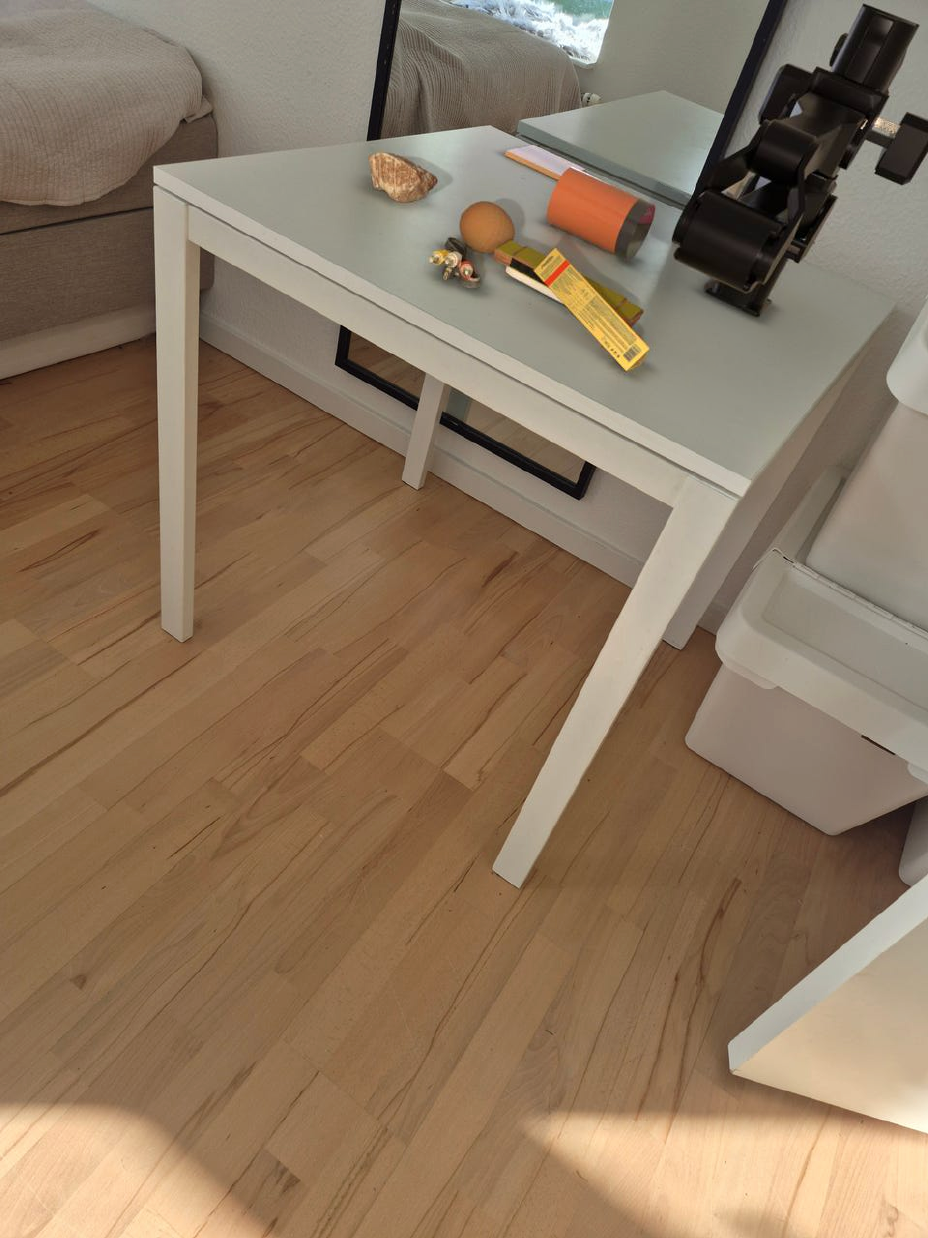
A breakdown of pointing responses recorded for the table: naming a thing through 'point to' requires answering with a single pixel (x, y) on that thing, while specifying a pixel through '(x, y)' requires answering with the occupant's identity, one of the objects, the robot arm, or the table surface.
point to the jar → (600, 213)
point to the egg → (486, 227)
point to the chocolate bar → (592, 310)
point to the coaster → (541, 160)
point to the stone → (400, 177)
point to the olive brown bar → (522, 268)
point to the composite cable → (456, 263)
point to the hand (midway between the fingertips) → (855, 119)
